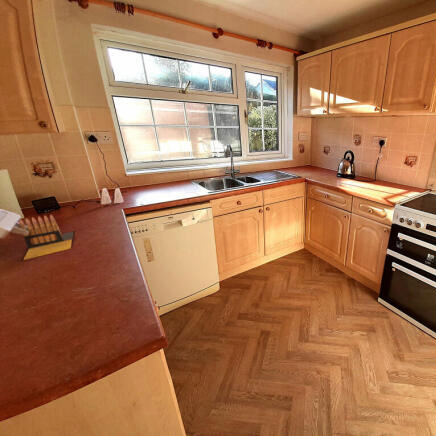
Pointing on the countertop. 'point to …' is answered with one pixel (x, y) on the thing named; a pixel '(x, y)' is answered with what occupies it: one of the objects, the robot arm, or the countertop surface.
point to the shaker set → (106, 197)
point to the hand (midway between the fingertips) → (29, 231)
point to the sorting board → (50, 247)
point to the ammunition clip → (41, 232)
